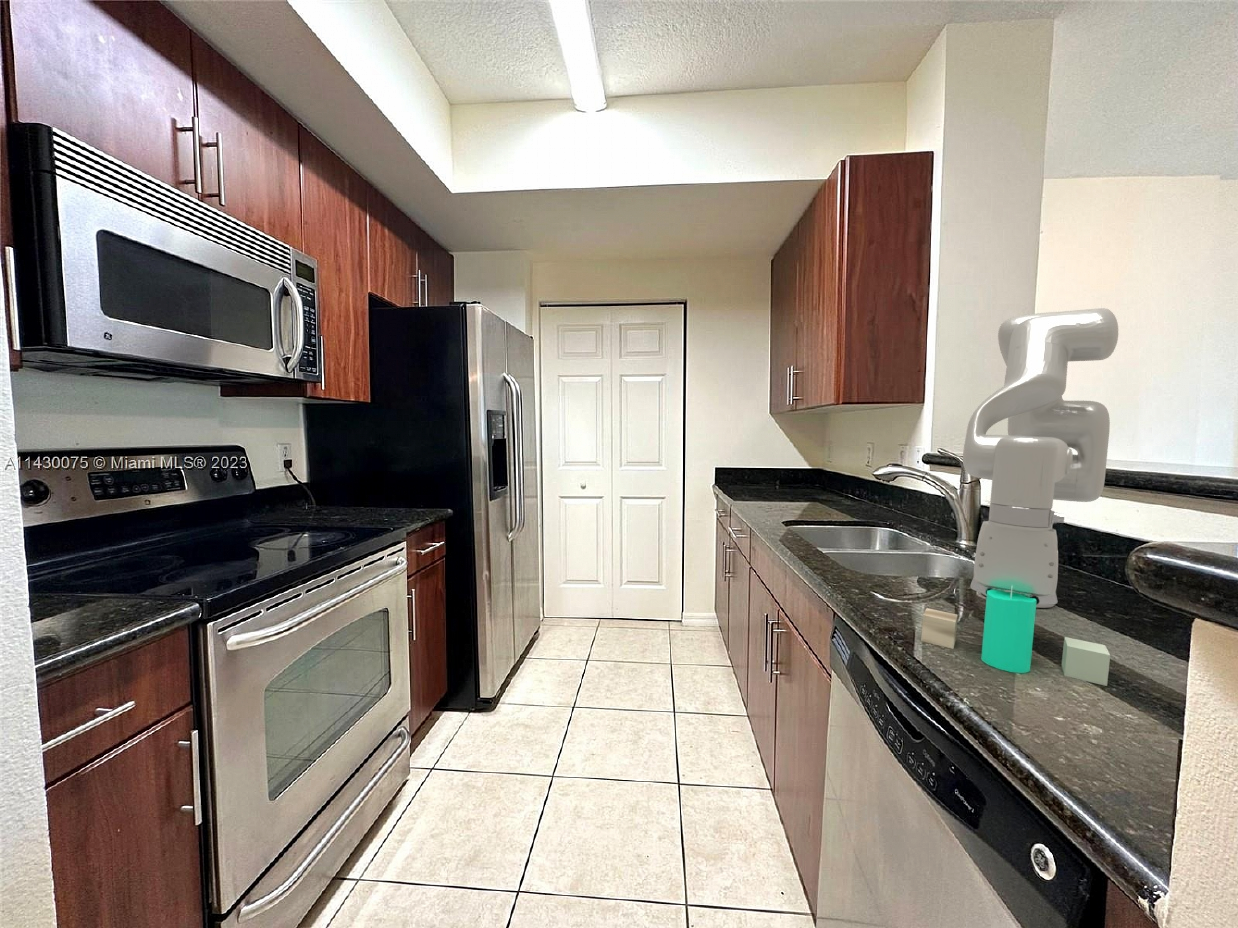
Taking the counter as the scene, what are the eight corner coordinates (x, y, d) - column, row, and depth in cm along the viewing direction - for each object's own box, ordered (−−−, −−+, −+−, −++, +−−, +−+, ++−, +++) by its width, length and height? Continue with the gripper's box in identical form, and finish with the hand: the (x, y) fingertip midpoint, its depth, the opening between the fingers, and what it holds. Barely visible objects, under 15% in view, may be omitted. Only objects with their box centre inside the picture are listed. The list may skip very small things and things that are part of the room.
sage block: (1061, 665, 78) (1064, 636, 77) (1101, 675, 75) (1105, 645, 75) (1064, 676, 74) (1067, 645, 74) (1106, 686, 71) (1110, 655, 71)
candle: (1037, 676, 73) (1045, 594, 73) (988, 668, 75) (995, 588, 75) (1021, 659, 79) (1028, 582, 78) (975, 652, 81) (981, 577, 80)
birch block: (924, 633, 88) (926, 608, 88) (955, 640, 86) (957, 614, 85) (920, 641, 85) (923, 614, 85) (953, 649, 82) (955, 621, 82)
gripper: (1081, 521, 77) (1069, 639, 79) (962, 508, 86) (953, 615, 88) (1087, 527, 71) (1074, 655, 73) (959, 513, 80) (949, 628, 82)
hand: (1008, 633), depth 80 cm, fingers closed
